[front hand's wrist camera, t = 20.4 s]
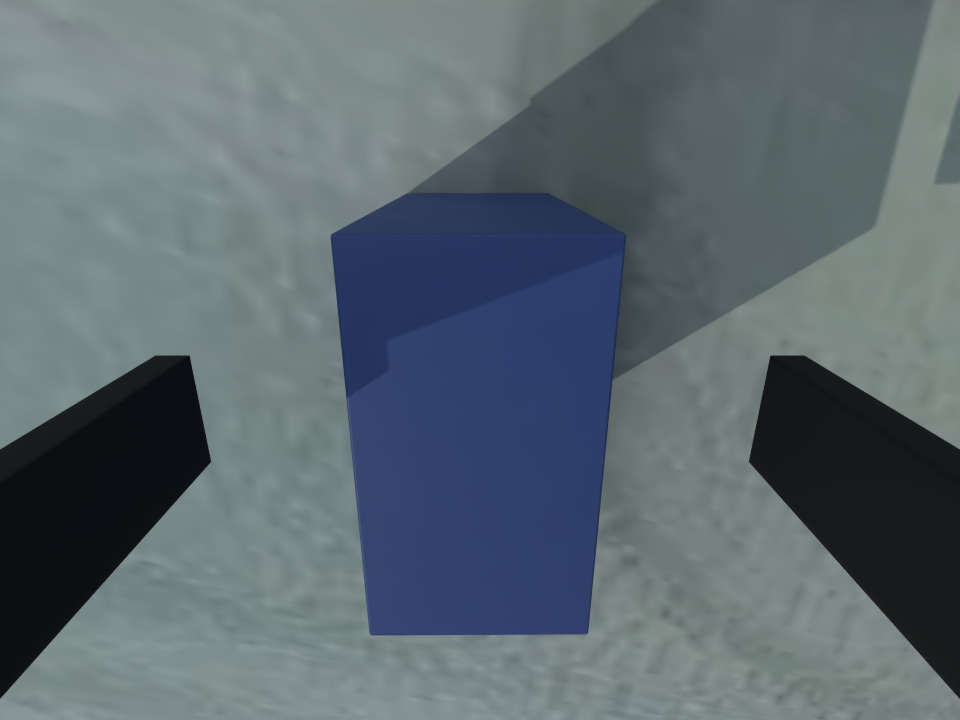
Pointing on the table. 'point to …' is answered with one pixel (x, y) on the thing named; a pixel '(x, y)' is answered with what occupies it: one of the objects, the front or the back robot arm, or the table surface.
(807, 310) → the table surface
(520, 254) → the brick
